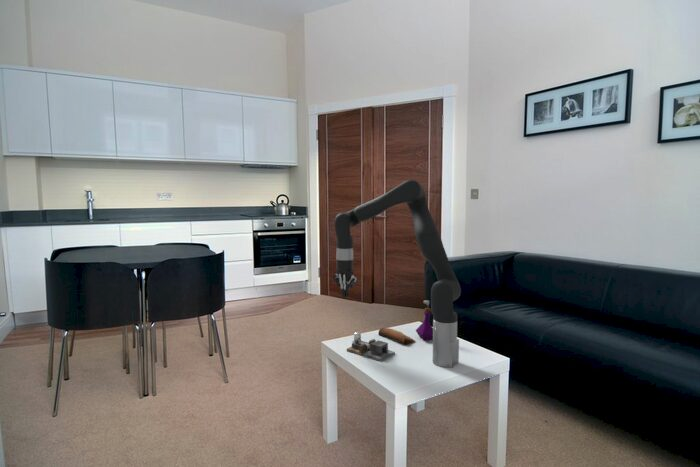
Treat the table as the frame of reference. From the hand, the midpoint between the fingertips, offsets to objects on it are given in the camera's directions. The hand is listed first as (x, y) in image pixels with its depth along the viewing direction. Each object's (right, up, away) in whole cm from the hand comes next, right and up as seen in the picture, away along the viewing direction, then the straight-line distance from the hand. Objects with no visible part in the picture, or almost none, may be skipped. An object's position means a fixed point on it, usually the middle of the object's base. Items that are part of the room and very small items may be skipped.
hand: (345, 297), depth 173 cm
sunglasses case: (+24, -22, +10) cm, 34 cm away
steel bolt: (+7, -21, -4) cm, 22 cm away
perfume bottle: (+38, -21, +10) cm, 44 cm away
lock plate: (+11, -22, -7) cm, 26 cm away
